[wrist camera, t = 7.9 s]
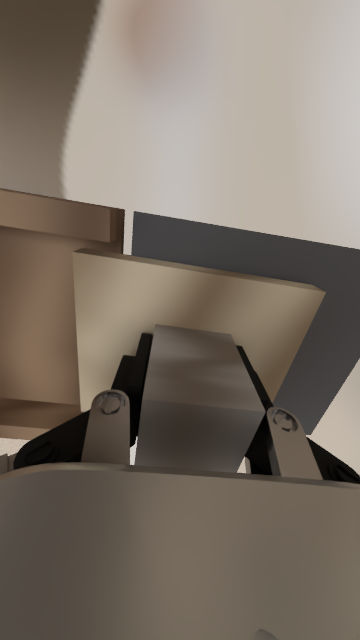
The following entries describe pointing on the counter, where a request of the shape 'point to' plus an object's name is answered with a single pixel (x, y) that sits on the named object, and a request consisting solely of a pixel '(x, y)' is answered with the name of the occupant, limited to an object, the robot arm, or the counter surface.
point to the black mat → (284, 264)
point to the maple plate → (182, 303)
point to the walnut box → (43, 305)
